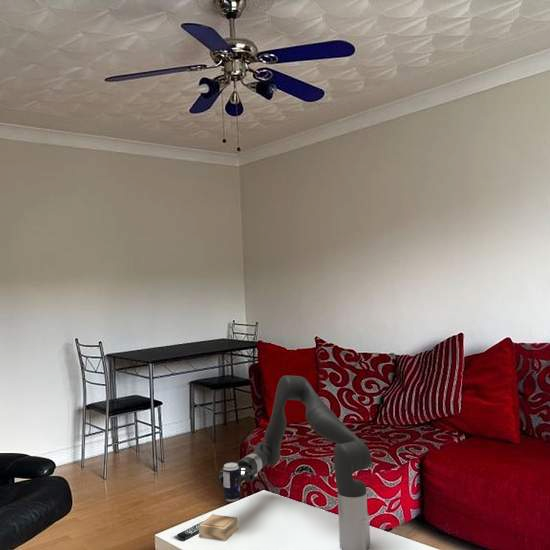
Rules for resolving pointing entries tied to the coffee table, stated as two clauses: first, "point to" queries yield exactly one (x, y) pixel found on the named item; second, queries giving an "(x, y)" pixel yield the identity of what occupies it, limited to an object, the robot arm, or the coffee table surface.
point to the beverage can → (231, 481)
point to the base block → (218, 527)
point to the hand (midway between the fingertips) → (228, 481)
